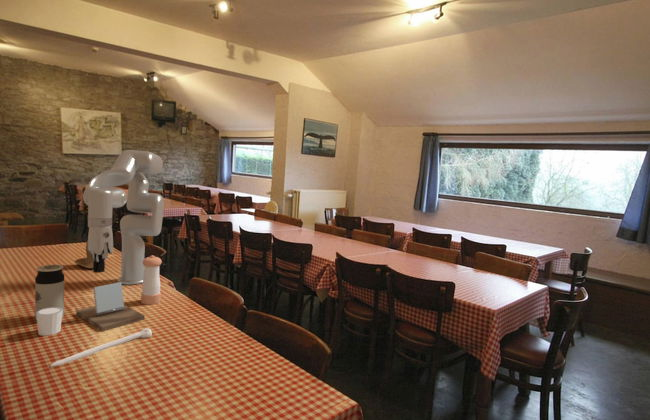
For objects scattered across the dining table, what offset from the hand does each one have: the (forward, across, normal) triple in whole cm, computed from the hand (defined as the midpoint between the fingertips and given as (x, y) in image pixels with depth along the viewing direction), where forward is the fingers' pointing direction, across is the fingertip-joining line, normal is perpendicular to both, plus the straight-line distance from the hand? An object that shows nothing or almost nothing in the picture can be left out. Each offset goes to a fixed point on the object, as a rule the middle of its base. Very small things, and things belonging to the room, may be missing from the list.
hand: (98, 271), depth 133 cm
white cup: (+16, -7, +17) cm, 24 cm away
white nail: (+16, -31, +11) cm, 37 cm away
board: (+15, -8, -1) cm, 17 cm away
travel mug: (+15, +5, +13) cm, 21 cm away
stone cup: (+14, +63, -25) cm, 69 cm away
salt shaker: (+15, -3, -19) cm, 24 cm away
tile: (+9, -7, -1) cm, 11 cm away
